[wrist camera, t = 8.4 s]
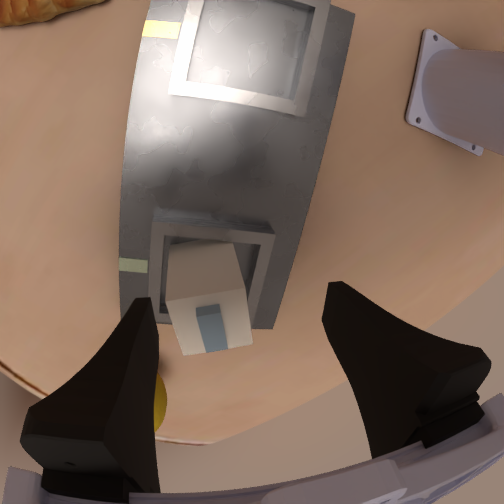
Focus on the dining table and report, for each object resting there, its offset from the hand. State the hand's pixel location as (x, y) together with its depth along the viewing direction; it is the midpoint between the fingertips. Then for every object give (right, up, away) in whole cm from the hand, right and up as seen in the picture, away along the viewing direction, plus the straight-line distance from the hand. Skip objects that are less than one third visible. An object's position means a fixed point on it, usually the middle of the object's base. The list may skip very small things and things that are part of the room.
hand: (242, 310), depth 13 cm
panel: (-2, +8, +7) cm, 10 cm away
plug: (-3, +1, +9) cm, 10 cm away
